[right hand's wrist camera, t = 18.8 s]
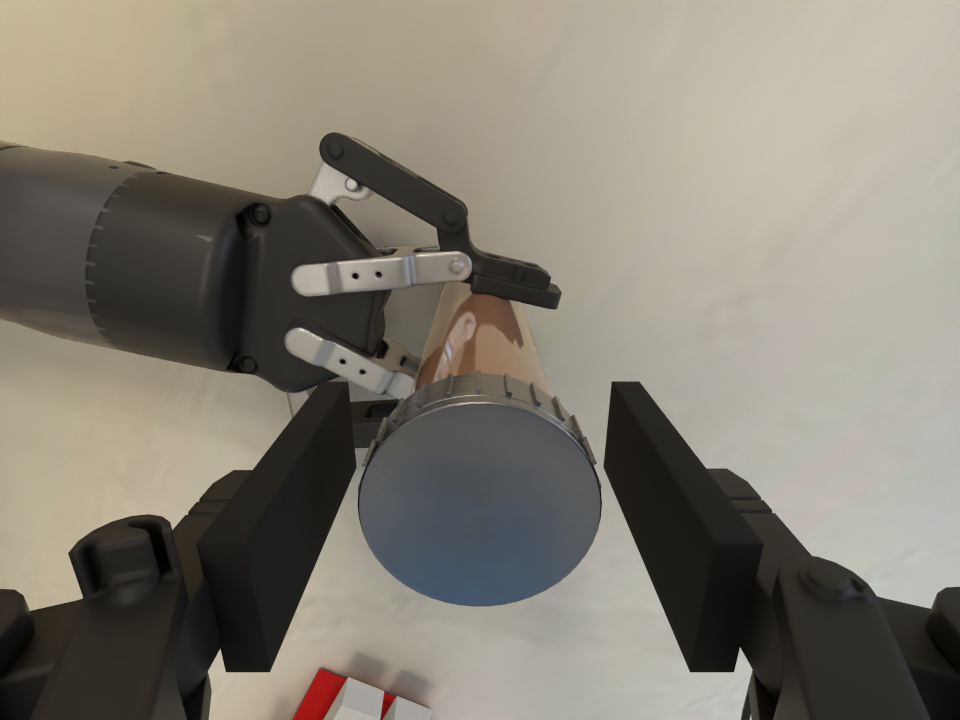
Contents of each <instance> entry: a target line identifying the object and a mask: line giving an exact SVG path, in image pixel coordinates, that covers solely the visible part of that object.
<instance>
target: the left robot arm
mask: <svg viewBox="0 0 960 720" xmlns="http://www.w3.org/2000/svg"><path fill="white" fill-rule="evenodd" d="M319 150H320V155H321V157H322V159H323V161H322V163H321V165H320V168H319V170H318V172H317V175H316V177H315V179H314V181H313V184H312V186H311V188H310V191H309V193H308V194H306V195H298V196H294V197H292V198H288V199H278V198H273V197H268V196H264V195H260V194H256V193H251V192H247V191H243V190H239V189H234V188H230V187H226V186H222V185H217V184H213V183H209V182H205V181H200V180H196V179H192V178H188V177H183V176H179V175H175V174H171V173H166V172H162V171H157V170H156V169H155V168H152V167H150V166H147V165H144V164H140V163H136V162H132V161H127V162H119V161H115V160H111V159H107V158H101V157H96V156H91V155H86V154H79V153H70V152H58V151H48V150H41V149H35V148H30V147H27V146H22V145H18V144H14V143H10V142H5V141H1V140H0V319H3V320H7V321H10V322H14V323H17V324H20V325H23V326H26V327H29V328H31V329H34V330H37V331H40V332H43V333H46V334H49V335H53V336H56V337H60V338H64V339H68V340H72V341H77V342H82V343H87V344H92V345H97V346H102V347H107V348H111V349H116V350H121V351H126V352H131V353H135V354H140V355H145V356H150V357H154V358H159V359H164V360H169V361H174V362H179V363H183V364H188V365H193V366H198V367H203V368H208V369H212V370H217V371H222V372H230V373H244V374H252V375H256V376H258V377H260V378H262V379H264V380H266V381H268V382H269V383H270V384H272V385H273V386H274V387H276V388H277V389H279V390H281V391H284V392H287V396H288V401H289V406H290V410H291V415H292V418H293V417H294V416H295V414H296V413H297V412H298V411H299V409H300V408H301V407H302V405H303V404H304V403H305V401H306V400H307V399H308V398H309V396H310V395H311V394H312V392H313V391H314V390H315V386H318V385H319V383H320V382H327V381H330V380H332V379H335V378H337V377H340V376H342V377H344V378H346V379H348V380H350V381H352V382H354V383H356V384H358V385H360V386H362V387H364V388H365V389H367V390H369V391H371V392H373V393H376V394H379V395H384V394H388V395H391V396H393V397H395V398H396V399H393V400H376V401H359V402H350V406H351V416H352V427H353V437H354V448H368V447H370V445H371V442H372V440H373V438H374V439H375V437H376V434H377V432H378V429H379V427H380V424H381V422H382V419H383V418H384V417H386V418H388V417H389V416H390V414H391V413H392V412H393V410H394V409H395V408H396V407H397V405H398V402H399V400H400V399H401V398H403V399H406V398H408V396H409V393H410V390H411V387H412V384H413V381H414V378H415V375H416V371H417V368H418V365H419V362H420V359H419V358H417V357H415V356H413V355H411V354H410V353H408V352H407V351H406V349H405V348H404V347H403V346H402V345H400V344H399V343H397V342H395V341H393V340H391V339H389V338H387V337H385V336H384V331H385V318H384V307H385V305H386V302H387V300H388V298H389V296H390V294H391V291H392V289H402V288H408V287H412V286H415V285H423V284H437V283H451V282H462V283H467V284H470V291H473V292H477V293H481V294H486V295H492V296H496V297H499V298H503V299H508V300H512V301H517V302H521V303H526V304H530V305H534V306H539V307H543V308H548V309H557V307H558V304H559V300H560V297H561V293H562V292H561V291H560V289H559V288H558V286H556V285H555V284H552V283H550V280H551V277H550V275H549V274H548V272H547V271H545V270H544V269H543V268H541V267H540V266H538V265H537V264H533V263H529V262H524V261H520V260H516V259H512V258H507V257H503V256H499V255H495V254H490V253H486V252H482V251H480V250H478V249H477V248H476V247H475V246H474V245H473V244H472V242H471V239H470V234H469V227H468V219H467V216H468V210H467V207H466V205H465V204H464V203H463V202H462V201H461V200H459V199H458V198H456V197H454V196H453V195H451V194H449V193H448V192H446V191H444V190H442V189H441V188H439V187H437V186H436V185H434V184H432V183H431V182H429V181H427V180H426V179H424V178H422V177H421V176H419V175H417V174H416V173H414V172H412V171H410V170H409V169H407V168H405V167H404V166H402V165H400V164H399V163H397V162H395V161H394V160H392V159H390V158H389V157H387V156H385V155H384V154H382V153H380V152H378V151H377V150H375V149H373V148H372V147H370V146H368V145H367V144H365V143H363V142H362V141H360V140H358V139H356V138H353V137H351V136H347V135H344V134H340V133H329V134H327V135H326V136H324V137H323V139H322V140H321V142H320V147H319ZM374 192H375V193H377V194H379V195H381V196H382V197H384V198H386V199H387V200H389V201H391V202H393V203H394V204H396V205H398V206H400V207H401V208H403V209H405V210H406V211H408V212H410V213H412V214H413V215H415V216H417V217H419V218H420V219H422V220H424V221H426V222H427V223H429V224H431V225H432V226H434V227H436V228H437V234H438V241H439V245H431V246H398V247H384V248H375V247H374V246H373V245H372V243H371V242H370V241H369V240H368V239H367V238H366V237H365V236H364V235H363V234H362V233H361V232H360V231H359V230H358V228H357V227H356V226H355V225H354V224H353V223H352V222H351V221H350V220H349V219H348V218H347V217H346V215H345V214H344V213H343V212H342V211H341V210H340V209H339V208H338V207H337V206H336V203H337V202H338V200H340V199H341V198H343V197H345V198H349V199H351V200H356V201H358V200H363V199H367V198H369V197H370V196H371V195H372V194H373V193H374Z"/></svg>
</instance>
